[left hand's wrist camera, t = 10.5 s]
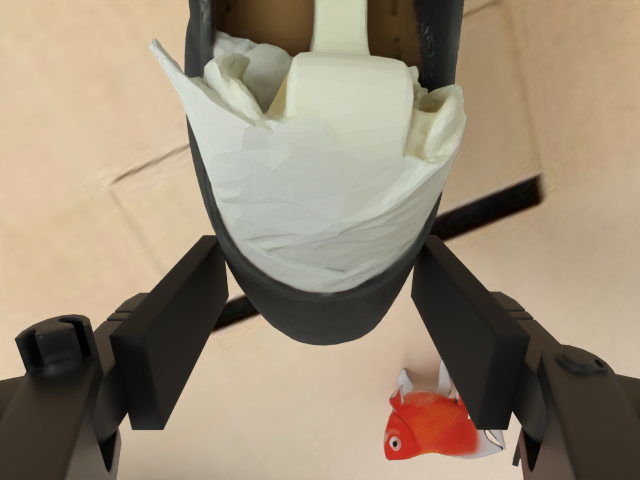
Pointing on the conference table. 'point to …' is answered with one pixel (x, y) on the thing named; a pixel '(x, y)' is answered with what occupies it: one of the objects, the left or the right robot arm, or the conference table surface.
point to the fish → (433, 423)
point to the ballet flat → (321, 148)
